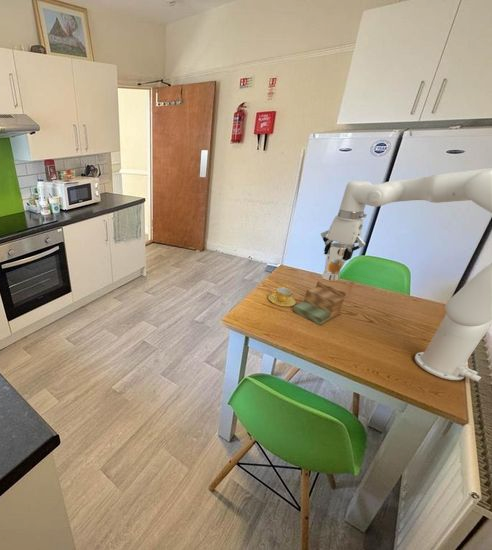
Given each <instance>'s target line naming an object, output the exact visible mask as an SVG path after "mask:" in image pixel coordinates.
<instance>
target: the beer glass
mask: <svg viewBox="0 0 492 550" xmlns="http://www.w3.org/2000/svg"><path fill="white" fill-rule="evenodd" d="M347 251H348V246H347V245H346V244H343V243H339V242H332V243H331V244H330V247H329V249H328V252H327V254H326V255H325V264H324V270H323V273H322V274H321V279H323V280H325V281H327V282H337V281H338V280H339V275H340V272H341V270H342V268H343V266H344V265H345V263H346V261H344V257H345V254H346V252H347Z"/></svg>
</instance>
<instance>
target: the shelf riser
mask: <svg viewBox="0 0 492 550" xmlns="http://www.w3.org/2000/svg"><path fill="white" fill-rule="evenodd" d="M347 294H348V292H347V291H344V290H341V289H339V288H336V287H334V286H331V285H328V284H326V283H323V282H321V281H317V282H316V285H315V286H313V287H310V288H308V289H307V290H306V293H305V297H304V300H303V301H302V302H300V303H297V304H295V305H294V307H293V310H292V312H294V313H296V314H298V315H300V316H302V317H304V318H306V319H308V320H310V321H312V322H313V323H315V324H318V325H320V326H321V325H322V324H324V323H325V322H327V321H329V320H331V319H333V318H334V317H336V316H338V315H339V314H340V312H341V309H342V307H343V304H344V302H345V298H346V295H347Z"/></svg>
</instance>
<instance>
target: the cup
mask: <svg viewBox="0 0 492 550" xmlns="http://www.w3.org/2000/svg"><path fill="white" fill-rule="evenodd" d="M292 292H293V291H292V290H291V289H290V288H287V287H282V286H281V287H277V288H276V290H273V291H271V293H270V294H268V296H267V298H268V301H270V302H271V303H272V304H274V305H276V306H280V307H293V306H295V305H296V303H297V302H296V299H294V298H293V296H291V295H292Z"/></svg>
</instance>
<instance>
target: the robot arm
mask: <svg viewBox="0 0 492 550" xmlns="http://www.w3.org/2000/svg"><path fill="white" fill-rule="evenodd" d="M410 201H425V202H426V201H427V202H429V203H432V204H433V203H436V204H438V203H451V202H452V203H453V202H464V201H471V202H473V203H474V204H475V205H477V206H479V207H480V208H482V209H483V210H485V211H487V212H489V213H490V214H492V167H487V168H486V167H485V168H479V169H472V170H471V169H470V170H464V171H457V172H455V171H454V172H448V173H441V174H433V175H429V176H422V177H421V176H420V177H415V178H406V179H405V178H404V179H398V180H391V181H385V182H382V183H376V184H372V183H371V182H370V181H368V180H360V179H359V180H358V179H357V180H355V179H354V180H350V181H348V182H347V184H346V186H345V189H344V192H343V196H342V199H341V203H340V205H339V209H338V212H337V214H336V215H335V217H334V218H333V220H332V221H331V222H332V223H331V224H330V226H329V229H328V230H325V231H323V232H321V233H320V236H321V238H322V241H323V243H324V245H325V246H324V249H323V255H325V256H326V255H327V252H328V249H329V247H330V244H331V243H343V244H346V245H347V246H348V251H347V252H346V254H345V257H344V261H345V262H347V261H348V260H351V259H352V257H353V254H354V252H355V251H357V250H359V249H361V248H363V247H365V246H366V242H365V241H364V240H363V238H362V231H363V227H364V219H366V218H367V214H366V213H365V208H366V206H370V207H374V208H375V207H377V208H378V207H382V206H385V205H387V204H392V203H396V202H397V203H398V202H410ZM355 244H358V245H355ZM444 312H445V315H444V317H443V318H442V320H441V322H440V324H439V325H438V327H437V329H436V331H435V332H434V335H433V336H432V338H431V339H430V342H429V343H428V345H427V347H426V348H425V350H424V351H419V352H417V353H416V354H415V356H414V361H415V363H416V364H417V365H418V366H419V368H421V369H423V370H424V371H426V372H427V373H429V374H431V375H434V376H436V377H438V378H442V379H445V380H448V381H449V380H450V381H462V380H463V379H465V377H466V378H467V379H470V380H472V381H475V382H476V383H479V381H480V380H481V379H482V376H480V375H478V373H479V372H478V371H477V370H474V369H471V368H469V367H468V366H467V365H468V364H469V362H468V360H469V358H470V357H471V355H472V354H473V352H475V350H476V348H477V346H478V345H479V343H480V342H481V341H482V339H483V338H484V336H485V335H486V333H487V331H488V330H489V329H490V327H491V325H492V262H491V263H488V264H487V265H486V266H484V267H483V268H482V269H481V270H479V272H477V273H476V274H475V275H474V276H473V277H472V278H471V279H470V280H469V281H468V282H467V283H466V284H464V285H463V286H462V287H461V288H460V289H459V290H458V291H457V292H456V293H455V294H454V295H453V296H451V297H450V298H449V299H448V300H447V301H446V303H445V305H444Z"/></svg>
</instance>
